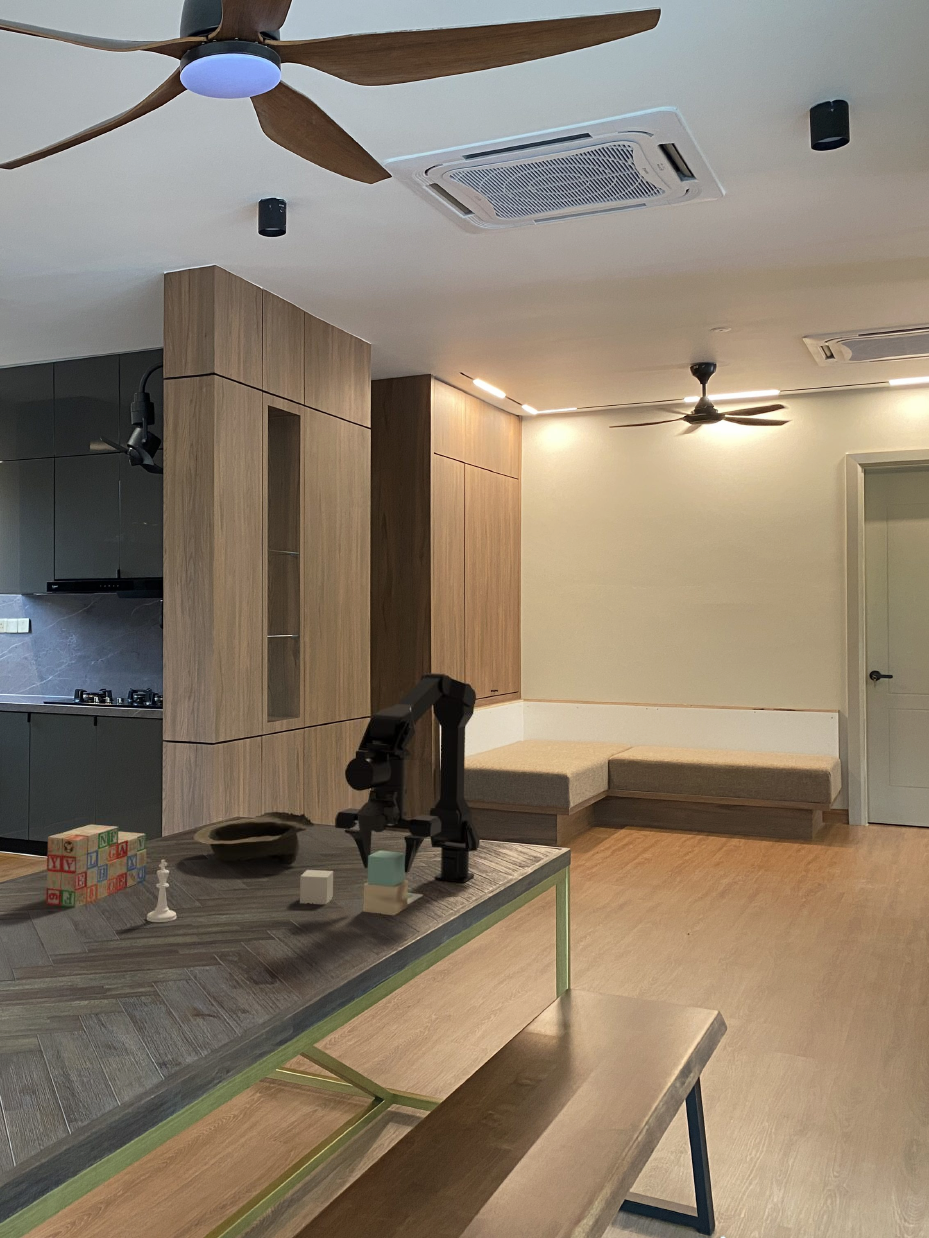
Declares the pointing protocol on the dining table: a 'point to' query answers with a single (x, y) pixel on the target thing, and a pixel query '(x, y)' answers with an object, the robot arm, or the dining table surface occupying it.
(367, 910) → the maple block
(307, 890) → the beige block
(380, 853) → the teal block
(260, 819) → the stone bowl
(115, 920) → the dining table surface
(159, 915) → the chess piece
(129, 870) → the stack of blocks
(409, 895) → the card
